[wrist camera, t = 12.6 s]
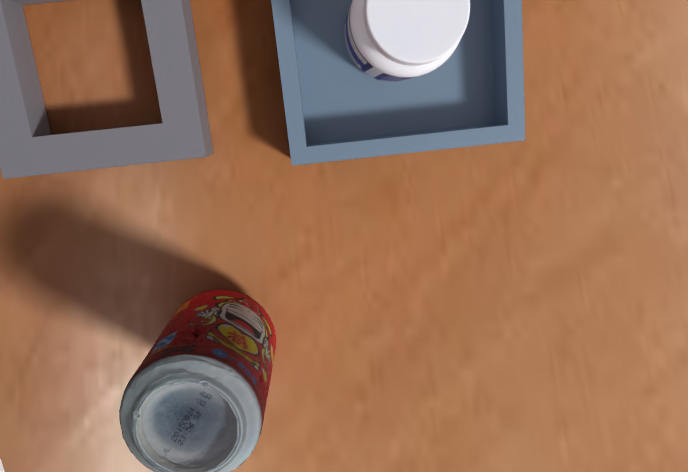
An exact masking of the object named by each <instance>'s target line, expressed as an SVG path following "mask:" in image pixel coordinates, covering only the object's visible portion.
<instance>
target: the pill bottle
mask: <svg viewBox="0 0 688 472" xmlns="http://www.w3.org/2000/svg"><path fill="white" fill-rule="evenodd" d="M469 15H470V0H352V2H351V5H350V8H349V11H348V14H347V17H346V22H345V30H344V36H345V43H346V47H347V50H348V53H349V55H350V57H351V59H352V60H353V62H354V63H355V65H356V66H357V67H358V68H359V69H360V70H361V71H362V72H364V73H365V74H366V75H368V76H370V77H372V78H374V79H377V80H380V81H384V82H398V81H403V80H407V79H411V78H415V77H418V76H422V75H425V74H427V73H429V72H431V71H433V70H435V69H436V68H438V67H439V66H441V65H442V64H443V63H444V62H445V61H446V60H447V59H448V58H449V57H450V56H451V55H452V53H453V52H454V51H455V49H456V47H457V46H458V44H459V42H460V39H461V37H462V36H463V34H464V32H465V29H466V27H467V24H468V20H469Z"/></svg>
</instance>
